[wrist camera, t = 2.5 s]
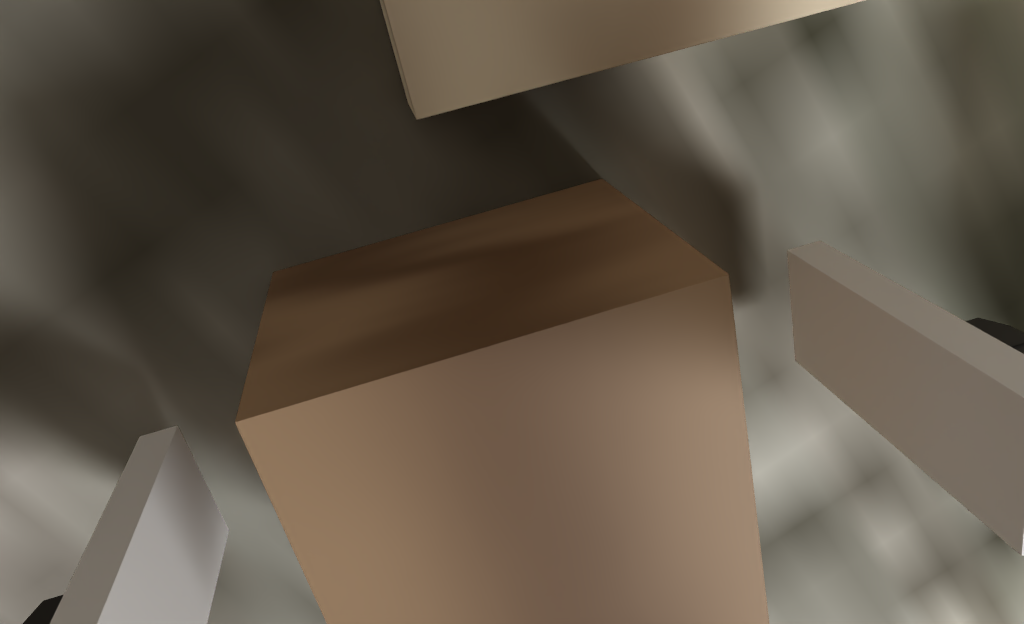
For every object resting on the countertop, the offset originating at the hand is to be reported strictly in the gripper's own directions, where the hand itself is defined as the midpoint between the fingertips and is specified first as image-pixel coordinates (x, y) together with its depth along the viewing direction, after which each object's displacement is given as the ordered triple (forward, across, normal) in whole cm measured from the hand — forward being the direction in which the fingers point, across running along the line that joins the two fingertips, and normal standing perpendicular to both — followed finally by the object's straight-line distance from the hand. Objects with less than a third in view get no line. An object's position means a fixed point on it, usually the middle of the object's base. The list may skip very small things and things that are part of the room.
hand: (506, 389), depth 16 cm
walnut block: (+1, 0, 0) cm, 1 cm away
